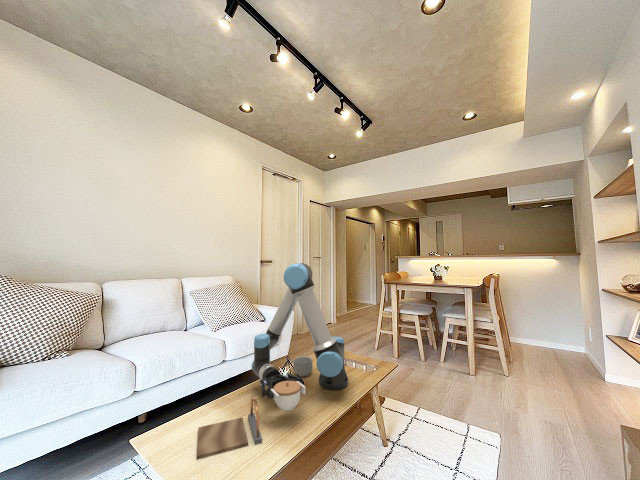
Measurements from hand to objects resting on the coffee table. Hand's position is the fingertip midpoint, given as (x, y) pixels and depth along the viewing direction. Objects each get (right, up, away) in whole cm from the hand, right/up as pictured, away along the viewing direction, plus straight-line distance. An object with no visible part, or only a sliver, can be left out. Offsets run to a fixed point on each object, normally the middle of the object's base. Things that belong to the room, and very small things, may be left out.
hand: (292, 394), depth 102 cm
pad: (-24, -11, -7) cm, 28 cm away
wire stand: (-14, -11, -3) cm, 18 cm away
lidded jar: (-2, -7, +3) cm, 8 cm away
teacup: (+2, -15, +47) cm, 49 cm away
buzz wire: (-14, -10, -3) cm, 17 cm away
